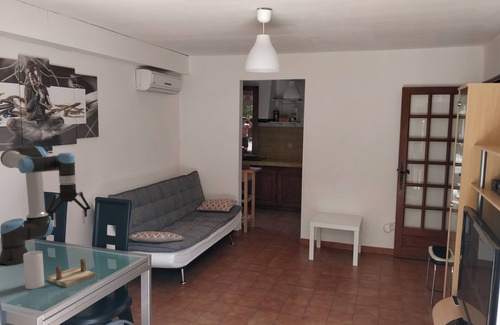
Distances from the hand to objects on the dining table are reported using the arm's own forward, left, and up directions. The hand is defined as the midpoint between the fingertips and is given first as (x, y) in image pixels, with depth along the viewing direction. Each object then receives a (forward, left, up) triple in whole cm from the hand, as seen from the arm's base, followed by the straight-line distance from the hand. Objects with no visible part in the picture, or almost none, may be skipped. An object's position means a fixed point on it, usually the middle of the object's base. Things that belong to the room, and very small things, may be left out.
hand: (69, 224), depth 209 cm
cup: (-3, -18, -27) cm, 32 cm away
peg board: (+4, -3, -27) cm, 27 cm away
